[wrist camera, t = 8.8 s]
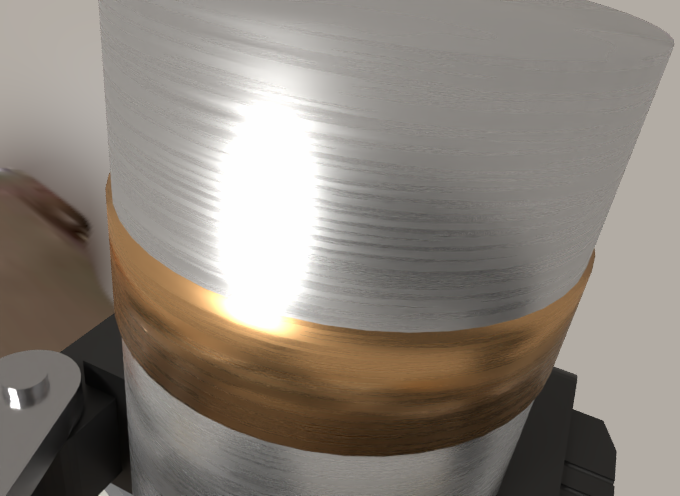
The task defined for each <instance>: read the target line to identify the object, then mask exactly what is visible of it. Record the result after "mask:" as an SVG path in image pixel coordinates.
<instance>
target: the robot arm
mask: <svg viewBox="0 0 680 496" xmlns="http://www.w3.org/2000/svg"><path fill="white" fill-rule="evenodd" d="M576 384H577V375H575V374H573V373H570V372H567V371H564V370H562V369H559V368H556V367H553V369H552V371H551V374H550V376H549V378H548V379H547V381H546V383H545V385H544V387H543V389H542V391H541V392H540V393H539V394H538V396H537V397H536V398H535V399H534V402H533V404H532V407H531V409H530V412H529V414H528V417H527V419H526V422H525V424H524V427H523V429H522V432H521V435H520V437H519V440H518V442H517V445H516V447H515V450H514V452H513V455H512V457H511V460H510V462H509V465H508V467H507V470H506V472H505V475H504V478H503V480H502V483H501V485H500V488H499V490H498V492H497V494H496V496H614V486H613V484H614V481H615V467H616V466H615V465H616V449H615V447H614V444H613V442H612V440H611V437H610V435H609V433H608V431H607V428H606V426H605V424H604V421H602V420H600V419H597V418H594V417H592V416H589V415H587V414H584V413H581V412H579V411H576V410H574V409H573V403H574V397H575V389H576ZM110 483H111V484H113V485H115V486H117V487H119V488H121V489H123V490H125V491H127V492H128V493H130V494H132V495H133V493H132V479H131V464H130V450H129V435H128V421H127V406H126V392H125V377H124V363H123V348H122V337H121V334H120V331H119V328H118V325H117V321H116V318H115V313H114V314H113V315H111V316H110V317H108V318H107V319H106V320H104V321H103V322H101V323H100V324H99V325H97V326H96V327H95V328H93V329H92V330H90V331H89V332H88V333H86V334H85V335H83V336H82V337H81V338H79V339H78V340H77V341H75V342H74V343H72V344H71V345H70V346H68V347H67V348H65V349H64V350H63V351H61V352H60V353H58V352H54V351H48V350H30V351H23V352H18V353H14V354H11V355H8V356H5V357H3V358H0V496H98V495H99V494H100V493H101V492H102V491H103V490H104V489H105V488H106V487H107V486H108V485H109V484H110Z"/></svg>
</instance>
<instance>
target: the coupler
mask: <svg viewBox="0 0 680 496" xmlns="http://www.w3.org/2000/svg"><path fill="white" fill-rule="evenodd" d="M99 15H100V29H101V43H102V58H103V73H104V87H105V102H106V116H107V130H108V145H109V160H110V173H109V177H108V180H107V184H106V201H107V202H106V203H107V216H108V230H109V242H110V255H111V256H110V257H111V270H112V283H113V297H114V310H115V318H116V321H117V325H118V328H119V331H120V334H121V337H122V348H123V363H124V377H125V392H126V406H127V421H128V435H129V450H130V464H131V479H132V493H133V496H496V494H497V492H498V490H499V488H500V485H501V483H502V480H503V478H504V475H505V472H506V470H507V467H508V465H509V462H510V460H511V457H512V455H513V452H514V450H515V447H516V445H517V442H518V440H519V437H520V435H521V432H522V429H523V427H524V424H525V422H526V419H527V417H528V414H529V412H530V409H531V407H532V404H533V402H534V399H535V398H536V397H537V396H538V394H539V393H540V392H541V391H542V389H543V387H544V385H545V383H546V381H547V379H548V378H549V376H550V374H551V371H552V369H553V366H554V364H555V361H556V359H557V356H558V354H559V351H560V348H561V346H562V344H563V341H564V339H565V336H566V334H567V331H568V329H569V326H570V324H571V321H572V319H573V316H574V314H575V311H576V309H577V307H578V304H579V302H580V299H581V297H582V294H583V291H584V289H585V286H586V284H587V282H588V279H589V277H590V274H591V272H592V268H593V263H594V258H595V249H594V247H595V245H596V242H597V240H598V237H599V235H600V232H601V230H602V227H603V224H604V222H605V219H606V217H607V214H608V212H609V209H610V207H611V204H612V202H613V199H614V197H615V194H616V191H617V189H618V187H619V184H620V181H621V179H622V176H623V174H624V171H625V168H626V166H627V164H628V161H629V159H630V156H631V153H632V151H633V149H634V146H635V144H636V141H637V138H638V136H639V133H640V131H641V128H642V126H643V123H644V121H645V118H646V116H647V113H648V111H649V108H650V106H651V103H652V100H653V98H654V95H655V93H656V90H657V88H658V85H659V83H660V80H661V78H662V75H663V73H664V70H665V67H666V65H667V63H668V60H669V57H670V55H671V52H672V50H673V47H674V40H673V39H672V37H671V36H670V35H669V34H668V33H667V32H665V31H663V30H662V29H660V28H659V27H657V26H655V25H653V24H651V23H649V22H647V21H645V20H643V19H640V18H637V17H635V16H633V15H630V14H628V13H625V12H622V11H618V10H616V9H613V8H610V7H607V6H604V5H601V4H597V3H594V2H590V1H587V0H99Z"/></svg>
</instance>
